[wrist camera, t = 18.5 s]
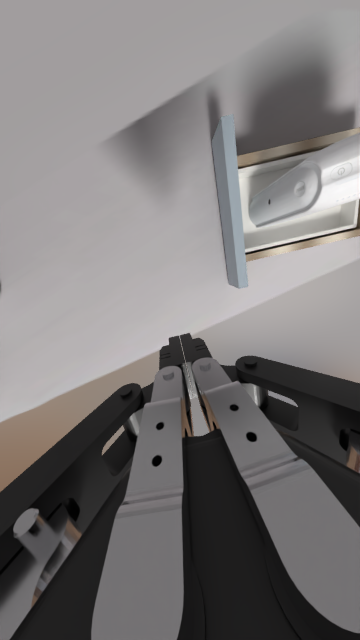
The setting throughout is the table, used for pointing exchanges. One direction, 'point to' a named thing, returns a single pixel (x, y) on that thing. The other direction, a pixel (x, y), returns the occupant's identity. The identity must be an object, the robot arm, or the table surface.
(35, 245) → the table surface
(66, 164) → the table surface
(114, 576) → the robot arm
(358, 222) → the dock housing
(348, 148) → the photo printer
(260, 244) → the tray
